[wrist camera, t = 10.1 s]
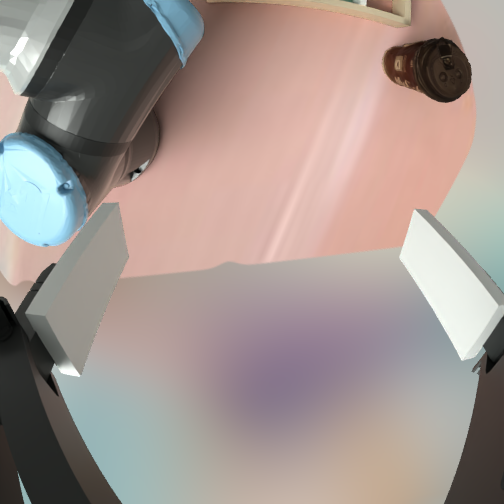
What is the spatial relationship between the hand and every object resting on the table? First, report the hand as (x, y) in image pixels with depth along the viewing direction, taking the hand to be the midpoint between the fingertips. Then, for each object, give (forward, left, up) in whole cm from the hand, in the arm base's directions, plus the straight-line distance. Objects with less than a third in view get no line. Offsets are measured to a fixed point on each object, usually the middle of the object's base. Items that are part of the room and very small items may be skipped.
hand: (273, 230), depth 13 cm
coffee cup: (+22, +11, -32) cm, 40 cm away
